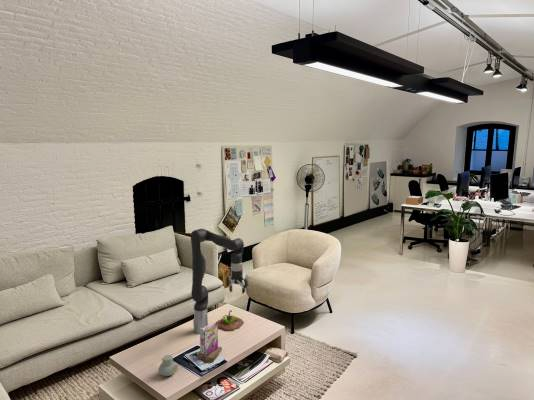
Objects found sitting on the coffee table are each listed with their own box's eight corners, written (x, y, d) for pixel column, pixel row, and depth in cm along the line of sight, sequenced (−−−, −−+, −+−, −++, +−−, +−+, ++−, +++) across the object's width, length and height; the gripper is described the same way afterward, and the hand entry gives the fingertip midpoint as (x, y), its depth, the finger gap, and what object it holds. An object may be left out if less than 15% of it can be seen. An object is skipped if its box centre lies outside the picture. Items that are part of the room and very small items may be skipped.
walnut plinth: (197, 359, 235) (196, 355, 235) (206, 348, 248) (206, 344, 247) (213, 362, 232) (212, 357, 232) (221, 351, 244) (221, 347, 244)
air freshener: (168, 379, 215) (167, 363, 214) (156, 376, 219) (155, 360, 217) (179, 369, 225) (179, 353, 224) (168, 366, 229) (167, 351, 227)
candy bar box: (205, 356, 234) (204, 331, 231) (200, 353, 237) (199, 328, 235) (218, 348, 242) (218, 324, 240) (213, 346, 245) (212, 322, 243)
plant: (248, 323, 283) (248, 309, 282) (232, 334, 267) (231, 319, 266) (227, 317, 294) (227, 303, 293) (210, 327, 278) (210, 312, 277)
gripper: (224, 269, 245) (225, 293, 248) (244, 271, 241) (245, 295, 243) (229, 266, 252) (229, 289, 255) (248, 268, 248) (249, 291, 250)
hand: (237, 292), depth 249 cm, fingers open, 8 cm apart
